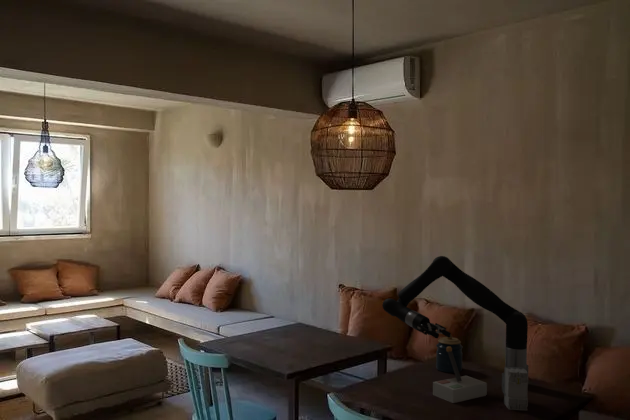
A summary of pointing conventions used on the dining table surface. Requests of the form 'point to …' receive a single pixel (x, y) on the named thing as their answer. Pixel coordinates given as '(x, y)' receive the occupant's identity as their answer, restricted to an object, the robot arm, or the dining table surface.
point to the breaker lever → (453, 363)
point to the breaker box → (459, 389)
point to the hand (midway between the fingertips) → (444, 335)
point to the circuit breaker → (515, 388)
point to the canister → (443, 357)
